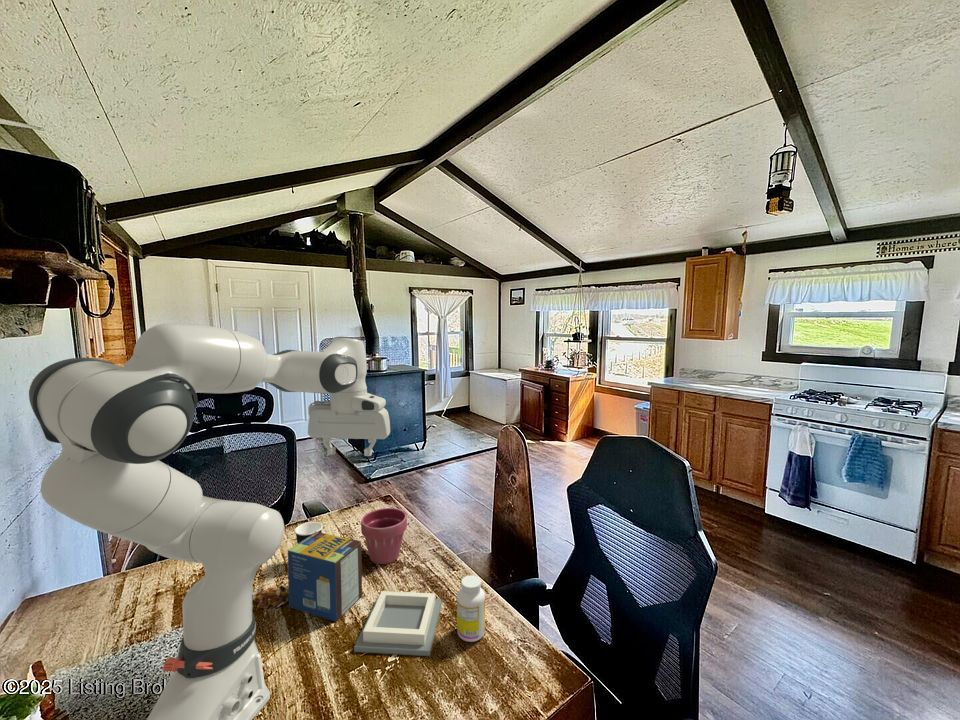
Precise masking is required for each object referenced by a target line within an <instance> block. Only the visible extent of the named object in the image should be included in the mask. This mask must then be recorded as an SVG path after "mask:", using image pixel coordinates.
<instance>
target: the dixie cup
mask: <svg viewBox="0 0 960 720" xmlns="http://www.w3.org/2000/svg"><path fill="white" fill-rule="evenodd" d="M323 526H324V525H323V524H322V523H321V522H318V521H310V522H309V521H308V522H304V523H302V524H300V525H298V526H297V527H295V529H294V533H295V536H296V544H298V543H299V542H301V541H303V540H304V539H306V538H307V537H309V536H310V535H312V534H313V533H315V532H320V533H322V532H323V531H322V529H323Z"/></svg>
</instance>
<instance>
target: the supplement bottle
mask: <svg viewBox="0 0 960 720" xmlns="http://www.w3.org/2000/svg"><path fill="white" fill-rule="evenodd" d="M460 587H461V588H459V589H458V591H457V594H456V600H457V601H456V605H457V607H456V612H457V613H456V625H457V626H456V631H457V632H456V633H457V636H458V637H459V638H460V639H461V640H463V641H464V642H469V643H473V642H477V641H479V640H481V639H483V636H484V635H485V631H486V593H485V590H484V588H482V580H481V578H480V577H479V576H476V575H474V574H473V575H466V576H464V577H462V579H461V581H460Z"/></svg>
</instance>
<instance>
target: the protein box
mask: <svg viewBox="0 0 960 720" xmlns="http://www.w3.org/2000/svg"><path fill="white" fill-rule="evenodd" d="M362 566H363V565H362V541H360V540H356V539H351V538H346V537H344V536H342V537H341V536H338V535H334V534H329V533H324V532H321V533H320V532H315V533H313V534H312V535H310V536H309V537H307V538H306V539H304V540H303V541H301V542H299V543H298V544H297V543H296V544H294V545H293V546H292V547H290V548H288V550H287V567H288V568H287V569H288V572H287V573H288V574H287V575H288V588H289V597H288V607H289V608H291V609H294V610H297V611H300V612H304V613H307V614H310V615H313V616H316V617H320V618H322V619H325V620H329V621H333V622H338V621H340V619H341V618H342V617H344V615H345V614H346V613H347V612H348V611H349V610H350V609H351V608H352V607H353V606H354V605H355V604H356V603H357V602H358V601H359V600H360V599H361V598H362V597H363V582H362V581H363V573H362V572H363V571H362Z"/></svg>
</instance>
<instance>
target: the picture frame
mask: <svg viewBox="0 0 960 720" xmlns="http://www.w3.org/2000/svg"><path fill="white" fill-rule="evenodd" d="M442 601H443V599H442V598H436V593H434V592H432V593H429V592H413V591H411V592H410V591H408V592H407V591H391V590H389V591H387V590H381V592H380V594H379V595H378V596H377V598H376V600H375V601H374V604H373V607H372V608H371V610H370V612H369V614H368V616H367V619H366V620H365V623H364V625H363V627H362V630H361V631H360V634H359V636H358V638H357V640H356V642H355V645H354V647H353V651H354V653H355V652H356V653H369V654H385V655H404V656H420V657H421V656H422V657H430V656H431V654H432V647H433V643H434V639H435V635H436V631H437V630H436V629H437V626H438V622H439V617H440V613H441V608H442V605H443V604H442Z"/></svg>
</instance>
